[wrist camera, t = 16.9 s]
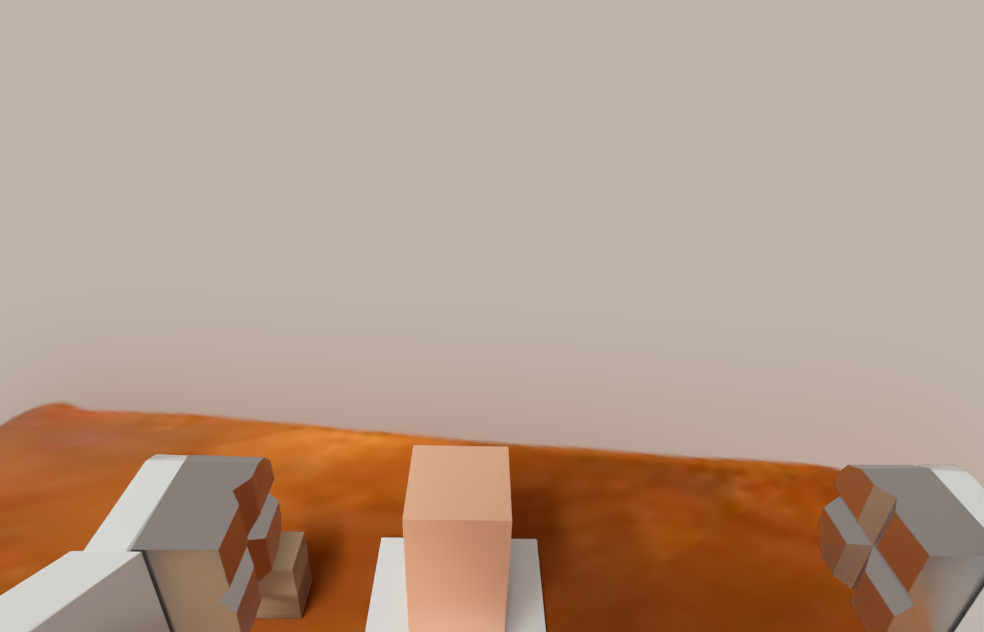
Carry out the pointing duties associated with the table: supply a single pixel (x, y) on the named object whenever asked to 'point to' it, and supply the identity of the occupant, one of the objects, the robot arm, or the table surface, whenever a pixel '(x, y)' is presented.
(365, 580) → the table surface
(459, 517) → the peach rectangular block
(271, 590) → the walnut peg
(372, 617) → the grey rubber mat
